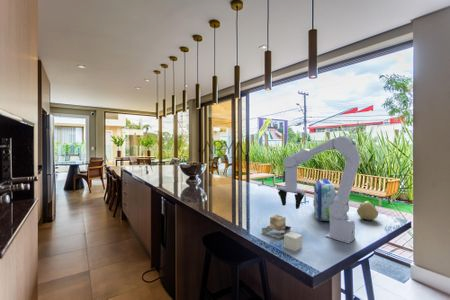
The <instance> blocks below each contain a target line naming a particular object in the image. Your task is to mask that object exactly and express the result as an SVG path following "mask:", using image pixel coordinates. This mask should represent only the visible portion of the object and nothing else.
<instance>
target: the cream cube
mask: <svg viewBox="0 0 450 300" xmlns="http://www.w3.org/2000/svg"><path fill="white" fill-rule="evenodd" d="M283 247H284V248H285V249H288V250H290V249H291V250H290V251H293V252H298V251H299V250H301V249H302V248H303V234H299V233H297V232H293V231H289V232H288V233H287V234H285V235H284V236H283Z"/></svg>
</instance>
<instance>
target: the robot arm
mask: <svg viewBox="0 0 450 300" xmlns="http://www.w3.org/2000/svg"><path fill="white" fill-rule="evenodd" d="M329 150H335V151H337V152H339V153H340V154H341V155H342V156H343V157H344V159H345V164H344V168H343V171H342V175H341V179H340V182H339V184H338V188H337V190H336V191H337V192H336V197H335V199H334V201H333V203H332V204H331V205H330V207H329V213H330V221H329V233H327V234H326V235H325V237H326V238H330V239H333V240H336V241H340V242H343V243H346V244H350V243H351V242H352V241H354V239H356V237H355V233H356V232H355V230H356V225H355V224H356V223H355V220H353V219H351V218H349V216H348V215H349V214H347V213H348V212H349V210H350V206H349V202H350V196H351V192H352V189H353V185H354V182H355V178H356V176H357V172H358V170H359V169H358V168H359V166H360V162H361V159H362V158H361V155H360V152H359V150H358V147H357V143H356V142H355V141H354V140H353V138H351V137H349V136H342V135H340V136H337V137H335V138H331V139H329V140H326V141H324V142H322V143H321V144H318V145H316V146H315V147H313V148H312V147H311V149H308V148H301V149H300V151H297V152H293V153H292V154H291V155H287V156H285V157H284V159H283V161H282V162H283V166H285V169H284V171H285V172H284V174H285V175H284V181H285V182H284V186H281V185H280V186H277V194H278V195H279V198H280V201H281V205H282V206H284V207H285V206H286V205H287V194H288V193H292V194H294V198H295V209H297V210H298V209H300V206H301V203H302V200H303V199H304V198H305V195H306V190H304V189H301V188H298V166H299V165H302V164H304V163H306V162H308V161H312V158H313V156H316V155H318V154H321V153H323V152H326V151H329Z"/></svg>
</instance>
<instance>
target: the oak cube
mask: <svg viewBox="0 0 450 300" xmlns="http://www.w3.org/2000/svg"><path fill="white" fill-rule="evenodd" d="M286 223H287V221H286V217H285V216H282V215H278V214H274V215H272V216H269V226H270V228H272V230H276V231H278V232H280V231H282V230H285V225H286ZM286 226H287V225H286Z"/></svg>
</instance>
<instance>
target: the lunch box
mask: <svg viewBox="0 0 450 300" xmlns="http://www.w3.org/2000/svg"><path fill="white" fill-rule="evenodd" d="M336 195H337V192H336V188H335V184H334V183H333V182H332V181H331V180H329V179H328V178H322V179H319V180H318V179H316V181H315V185H314V186H313V207H314V208H313V209H314V210H313V211H314V214H315V216H316V219H317V220H318V221H322V222H330V213H329V207H330V205H331V204H332V203H333V201H334V199H335V197H336Z"/></svg>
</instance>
